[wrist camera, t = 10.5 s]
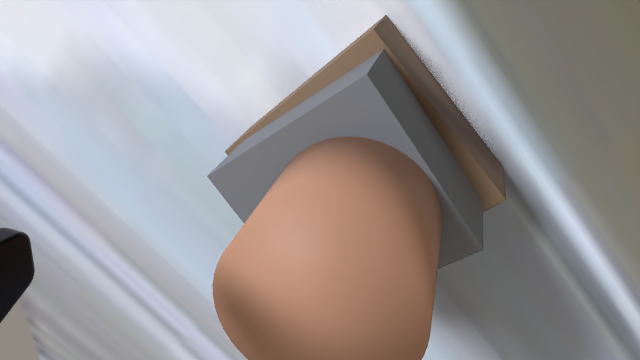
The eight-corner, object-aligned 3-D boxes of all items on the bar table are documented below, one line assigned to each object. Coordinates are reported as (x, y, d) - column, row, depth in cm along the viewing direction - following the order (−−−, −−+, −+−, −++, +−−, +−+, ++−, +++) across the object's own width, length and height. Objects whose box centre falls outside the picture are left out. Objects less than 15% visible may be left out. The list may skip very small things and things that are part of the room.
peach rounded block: (475, 246, 15) (475, 360, 12) (337, 306, 18) (298, 419, 14) (377, 103, 14) (340, 176, 10) (243, 187, 17) (171, 273, 13)
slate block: (482, 200, 18) (483, 249, 15) (338, 267, 21) (318, 318, 18) (384, 48, 17) (366, 74, 14) (243, 140, 19) (207, 176, 17)
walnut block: (502, 162, 20) (506, 199, 18) (360, 247, 24) (346, 288, 21) (387, 13, 19) (373, 29, 17) (254, 123, 22) (224, 151, 20)
